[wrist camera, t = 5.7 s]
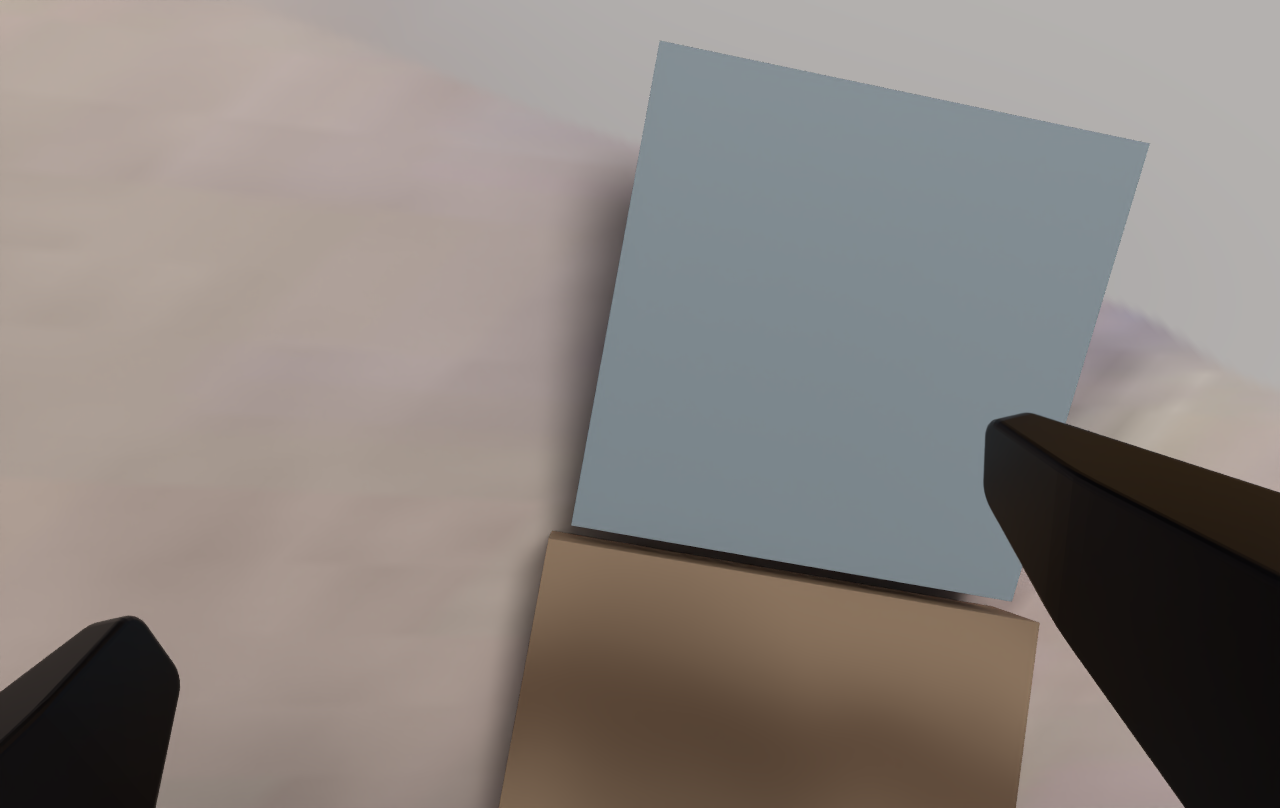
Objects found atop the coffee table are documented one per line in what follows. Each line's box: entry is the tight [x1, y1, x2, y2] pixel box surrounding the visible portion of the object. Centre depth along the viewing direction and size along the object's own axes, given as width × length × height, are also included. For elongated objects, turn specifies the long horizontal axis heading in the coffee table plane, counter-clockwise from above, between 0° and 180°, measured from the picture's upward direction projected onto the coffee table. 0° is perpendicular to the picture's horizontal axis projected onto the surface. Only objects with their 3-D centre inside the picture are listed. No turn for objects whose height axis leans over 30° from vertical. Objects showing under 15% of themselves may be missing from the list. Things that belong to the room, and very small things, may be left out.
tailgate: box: [571, 41, 1149, 602], centre depth 17 cm, size 2×10×10 cm
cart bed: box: [499, 531, 1039, 808], centre depth 18 cm, size 8×11×2 cm
